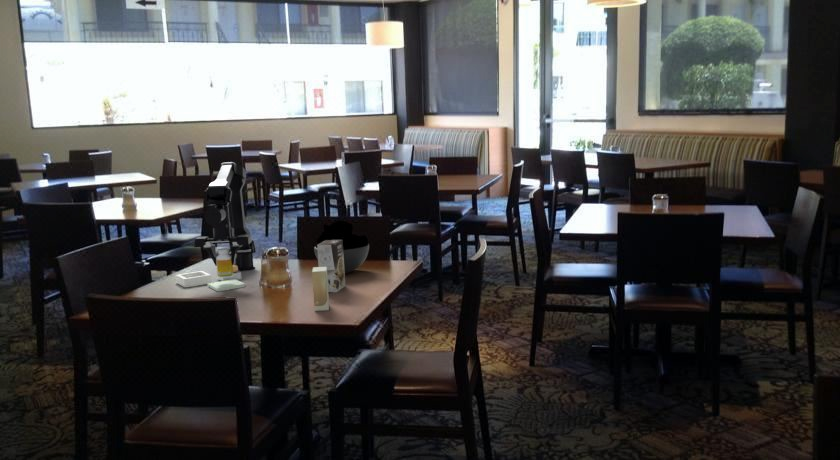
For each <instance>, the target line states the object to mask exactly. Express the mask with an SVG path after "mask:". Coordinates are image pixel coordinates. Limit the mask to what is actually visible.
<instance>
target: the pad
mask: <svg viewBox="0 0 840 460" xmlns="http://www.w3.org/2000/svg"><path fill="white" fill-rule="evenodd" d="M207 287H208V288H210V289H212V290H214V291H216V292H223V291H229V290H233V289H240V288H246V283H244V282H242V281H240V280H236V279H233V280H227V281H217V282H216V281H214V282H212V283H209V284H207Z"/></svg>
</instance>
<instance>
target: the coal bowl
mask: <svg viewBox="0 0 840 460" xmlns="http://www.w3.org/2000/svg"><path fill="white" fill-rule="evenodd" d="M353 228H354V227H353V224H352V223H350V222H348V221H345V220H337V221H334V222H333V223H331V224H329V225H328V224H323V232H322V233H321V235H319V237H318V238H317V240H316V243H317V244H319V243H321V242H323V241H325V240H343V254H344V271H345V274H347V273H350V272H353V271H355V270H357V269H358V268H360V267H361V265H363V263H365V260H367V257H368V254H369V250H370V244H369V241H368V238H367V236H366V235H364V234H363V235H360V236H358V235H357V234H353ZM317 244H316V245H315V246H314V247H313V251H314V254H315V257H316V259H317V260H318V250H317Z"/></svg>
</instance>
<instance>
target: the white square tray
mask: <svg viewBox="0 0 840 460" xmlns="http://www.w3.org/2000/svg"><path fill="white" fill-rule="evenodd" d="M175 278H176V284H178V285H180V286H181V287H183V288H190V287H197V286H203V285H208V284H209V283H213V282H212V275H211V274H210V273H208V272H206V271H203V270H199V271H192V272H186V273H180V274H176V275H175Z"/></svg>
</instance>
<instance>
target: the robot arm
mask: <svg viewBox="0 0 840 460" xmlns="http://www.w3.org/2000/svg"><path fill="white" fill-rule="evenodd" d="M216 176H217V177H216V179H215V180H214V181H212V182H210V183H209V185H208V187H207V188H206V190H205V198H204V199H205V200H204V206H205V207H208V209H207V210H206V211H205V213H204V216H203V218H204V221H205V223H207V224H208V225H209V226H211V227H212V234H213V236H212V237H213V238H210V237H209V236H198V237H196V238H194V240H193V247H194V248H202V250H206V252H207V254H208V255H209V256H210V258H211V260H212V262H213V264H214V265H215V267H217V263H216V257H217V256H218V255H217V252H216V244H221V245H222V244H229V249H230V255H231V259H232V265H237V266H238V271H239V272H241V271H246V270H253V269H256V266H254V258H253V254H255V253H257V252H256V251H257V249H256V244H255V241H254V239H253V238H252V234H251V231H250V230H249V229H248V228H247V226H246V219H245V218H246V217H245V210H244V209H245V208H244V200H243V199H244V198H243V187H244V186H245V183H246V179H247V171H246V168H245V167H244V166H242V165H239V164H236V162H234V161H230V162H229V161H228V162H222V163H220V167H219V172H218V174H217V175H216ZM229 205H230V207H231V217H232V225H231V221H230V220H231V219H230V211H229ZM232 226H233V227H232Z"/></svg>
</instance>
